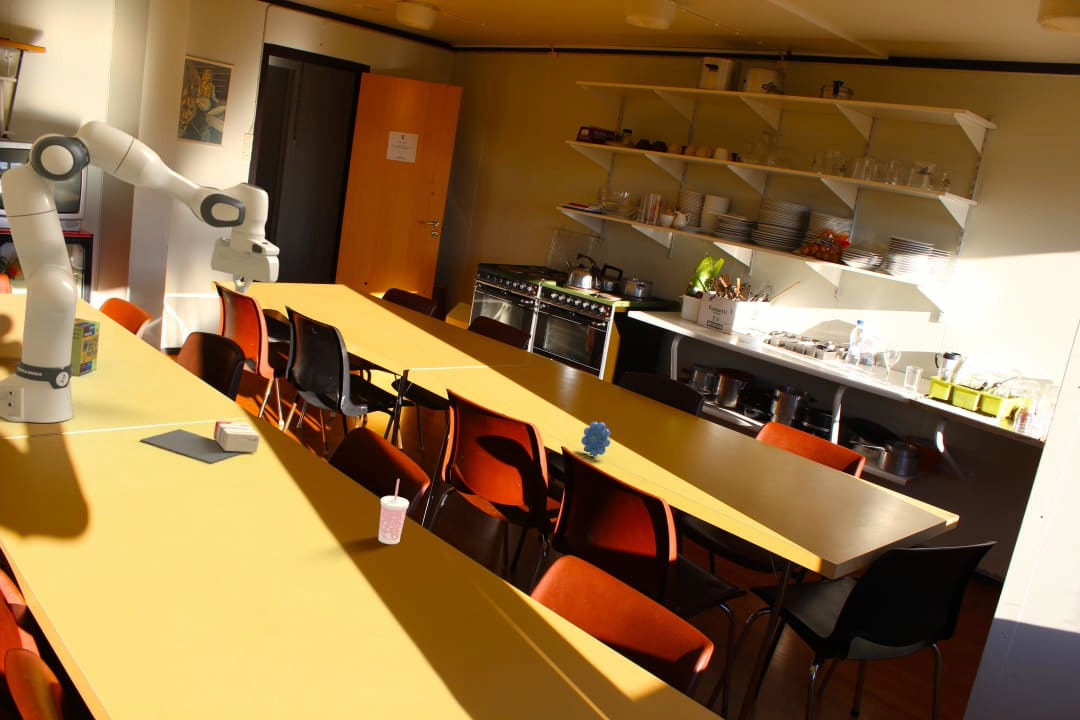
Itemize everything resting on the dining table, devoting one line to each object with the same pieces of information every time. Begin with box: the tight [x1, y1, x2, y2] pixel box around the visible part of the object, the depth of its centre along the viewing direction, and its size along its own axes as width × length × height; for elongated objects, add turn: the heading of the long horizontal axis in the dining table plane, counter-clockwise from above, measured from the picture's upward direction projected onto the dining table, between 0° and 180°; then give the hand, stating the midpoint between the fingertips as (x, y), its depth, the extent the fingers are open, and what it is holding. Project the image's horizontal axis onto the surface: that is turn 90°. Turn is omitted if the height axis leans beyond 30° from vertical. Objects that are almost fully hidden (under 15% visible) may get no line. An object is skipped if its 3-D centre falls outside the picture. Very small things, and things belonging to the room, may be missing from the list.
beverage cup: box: [378, 478, 410, 545], centre depth 194 cm, size 6×6×14 cm
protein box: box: [70, 317, 101, 377], centre depth 274 cm, size 10×15×16 cm
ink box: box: [213, 420, 260, 453], centre depth 234 cm, size 8×5×12 cm
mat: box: [139, 428, 247, 465], centre depth 230 cm, size 22×14×1 cm, turn 70°
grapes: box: [580, 421, 611, 457], centre depth 285 cm, size 12×7×12 cm, turn 42°
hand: (241, 292), depth 249 cm, fingers closed
